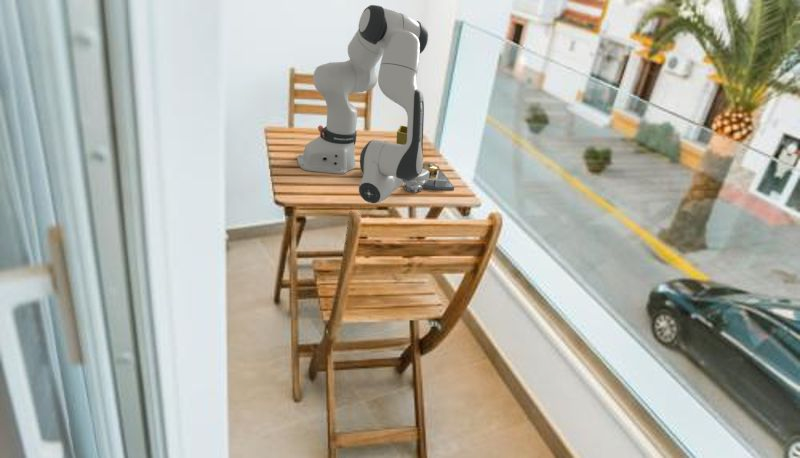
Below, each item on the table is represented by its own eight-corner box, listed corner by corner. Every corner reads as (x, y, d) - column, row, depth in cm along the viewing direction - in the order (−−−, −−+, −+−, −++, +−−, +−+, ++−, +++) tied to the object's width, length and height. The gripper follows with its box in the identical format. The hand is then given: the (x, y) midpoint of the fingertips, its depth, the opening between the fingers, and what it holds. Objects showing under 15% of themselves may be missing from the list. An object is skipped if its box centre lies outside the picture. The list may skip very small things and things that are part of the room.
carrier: (424, 189, 194) (426, 180, 192) (410, 170, 207) (412, 161, 205) (453, 189, 198) (455, 181, 196) (438, 170, 211) (440, 162, 209)
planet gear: (406, 192, 189) (411, 165, 184) (401, 184, 195) (405, 157, 189) (424, 192, 191) (429, 165, 186) (418, 184, 197) (423, 157, 191)
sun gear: (422, 177, 203) (424, 168, 201) (416, 169, 209) (418, 160, 207) (440, 177, 205) (442, 168, 203) (433, 169, 211) (435, 160, 209)
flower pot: (413, 155, 221) (417, 135, 216) (393, 151, 222) (396, 131, 217) (416, 148, 229) (420, 129, 224) (397, 144, 229) (400, 125, 225)
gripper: (422, 176, 160) (437, 162, 171) (363, 158, 165) (381, 146, 177) (419, 194, 163) (434, 179, 174) (361, 176, 168) (379, 163, 180)
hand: (407, 162), depth 176 cm, fingers open, 8 cm apart
